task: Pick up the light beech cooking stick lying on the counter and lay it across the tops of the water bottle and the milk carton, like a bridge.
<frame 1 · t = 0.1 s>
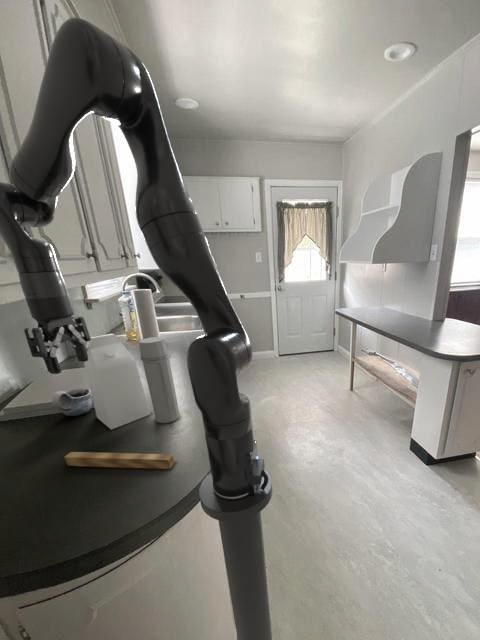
hand: (70, 366, 70), 23 cm above the countertop, tool pointing down, fingers open, 8 cm apart
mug: (77, 415, 98), on the countertop
water bottle: (169, 420, 93), on the countertop
stick: (120, 464, 73), on the countertop
milk: (124, 416, 97), on the countertop
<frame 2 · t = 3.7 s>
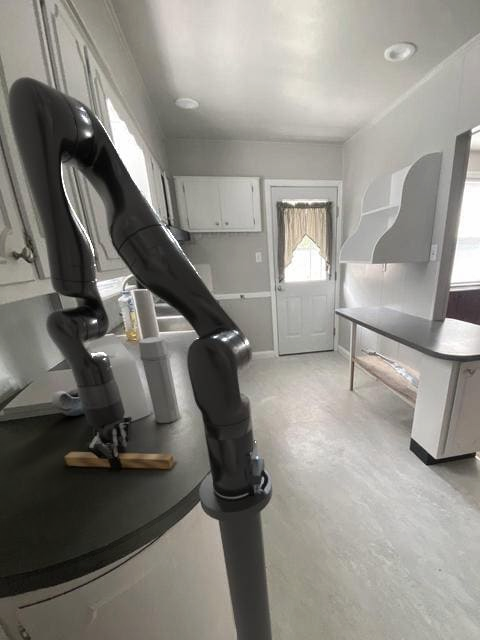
hand: (120, 464, 73), 0 cm above the countertop, tool pointing down, fingers closed on stick, 2 cm apart
stick: (120, 464, 73), on the countertop, touching gripper
everything else where it was.
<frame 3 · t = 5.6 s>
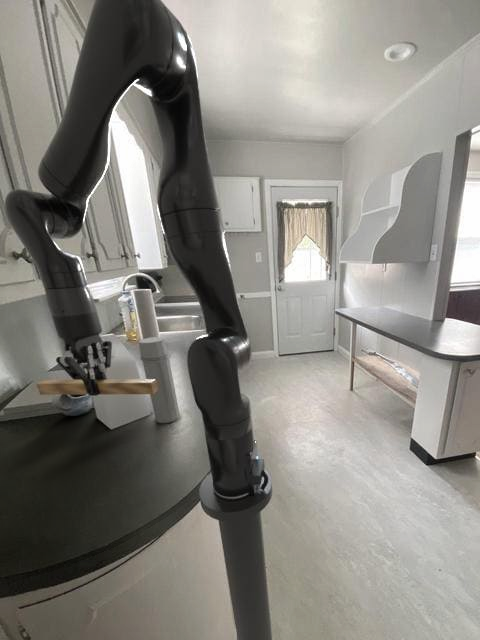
hand: (99, 391, 66), 19 cm above the countertop, tool pointing down, fingers closed on stick, 2 cm apart
stick: (99, 392, 66), point 19 cm above the countertop, touching gripper
everything else where it was.
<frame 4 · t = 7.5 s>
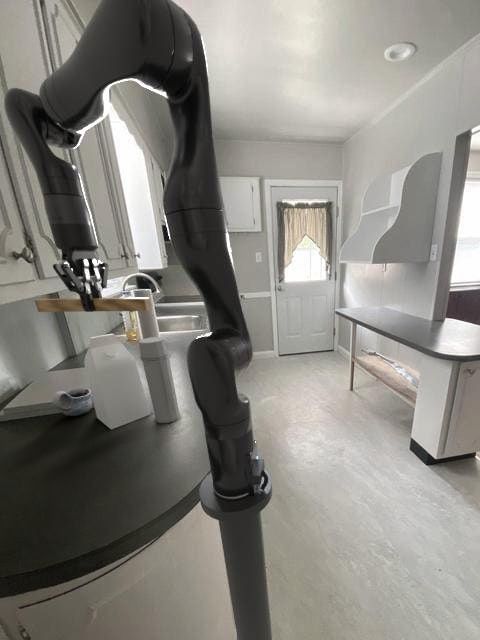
hand: (94, 310, 68), 35 cm above the countertop, tool pointing down, fingers closed on stick
stick: (94, 310, 68), point 35 cm above the countertop, touching gripper
everything else where it was.
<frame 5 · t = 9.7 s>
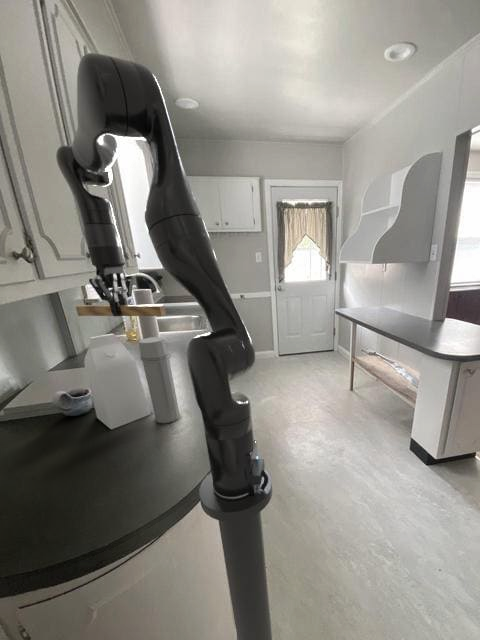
hand: (121, 314, 83), 32 cm above the countertop, tool pointing down, fingers closed on stick
stick: (121, 315, 83), point 32 cm above the countertop, touching gripper
everything else where it was.
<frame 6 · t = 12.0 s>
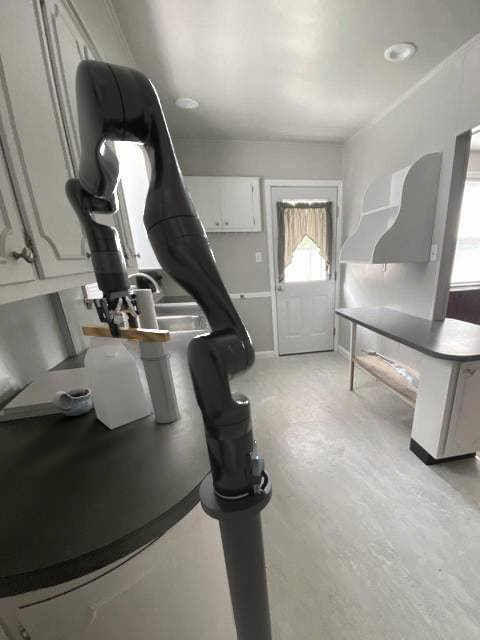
hand: (126, 334, 85), 27 cm above the countertop, tool pointing down, fingers open, 6 cm apart
water bottle: (169, 420, 93), on the countertop, touching stick
stick: (126, 337, 85), point 26 cm above the countertop, touching milk, water bottle
milk: (124, 416, 97), on the countertop, touching stick
everything else where it was.
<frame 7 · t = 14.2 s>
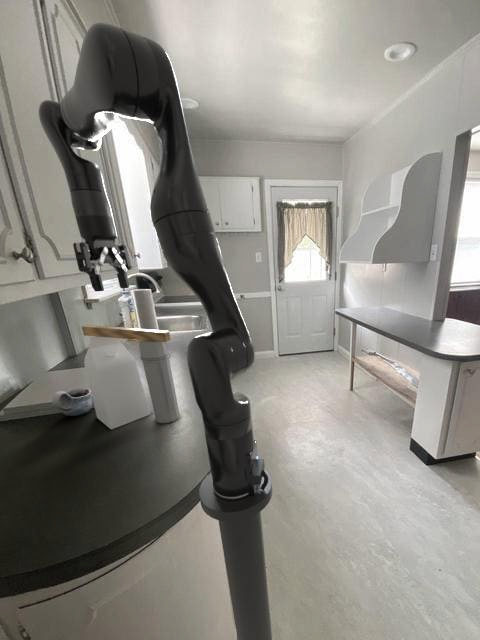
hand: (112, 289, 76), 39 cm above the countertop, tool pointing down, fingers open, 8 cm apart
nothing on the countertop moved.
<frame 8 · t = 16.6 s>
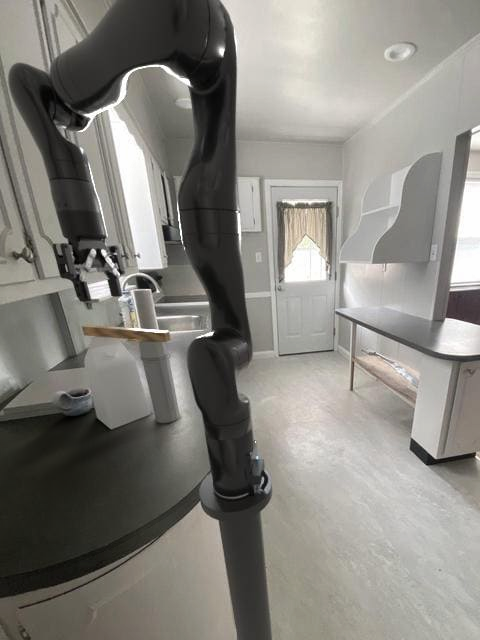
hand: (102, 298, 64), 38 cm above the countertop, tool pointing down, fingers open, 8 cm apart
nothing on the countertop moved.
at the end: stick inside the target area (0.1 cm from its centre), point 25.6 cm above the countertop; stick touching milk, water bottle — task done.
